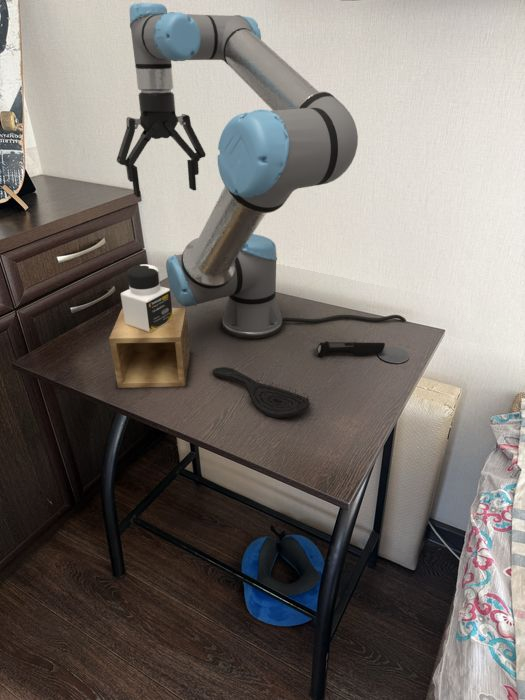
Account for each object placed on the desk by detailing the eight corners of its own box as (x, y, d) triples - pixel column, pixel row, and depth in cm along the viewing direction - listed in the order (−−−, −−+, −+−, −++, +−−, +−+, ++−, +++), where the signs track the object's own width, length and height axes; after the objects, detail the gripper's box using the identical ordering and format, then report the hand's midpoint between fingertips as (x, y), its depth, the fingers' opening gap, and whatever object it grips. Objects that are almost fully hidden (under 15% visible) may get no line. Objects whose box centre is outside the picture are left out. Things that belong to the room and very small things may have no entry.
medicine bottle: (150, 333, 100) (143, 277, 94) (124, 324, 103) (115, 270, 97) (173, 319, 105) (168, 265, 99) (148, 311, 108) (141, 258, 102)
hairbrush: (227, 353, 111) (319, 392, 96) (228, 367, 113) (318, 408, 98) (199, 368, 106) (292, 413, 91) (201, 383, 107) (292, 429, 93)
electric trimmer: (384, 358, 115) (386, 346, 113) (317, 358, 115) (318, 346, 113) (381, 350, 118) (383, 338, 117) (316, 349, 118) (317, 338, 116)
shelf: (189, 353, 116) (185, 307, 110) (185, 386, 105) (180, 336, 99) (129, 355, 116) (121, 308, 109) (117, 388, 104) (108, 338, 98)
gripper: (203, 88, 115) (208, 183, 126) (92, 92, 105) (108, 194, 116) (216, 90, 109) (220, 189, 120) (100, 94, 99) (116, 202, 110)
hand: (165, 192), depth 118 cm, fingers open, 13 cm apart
